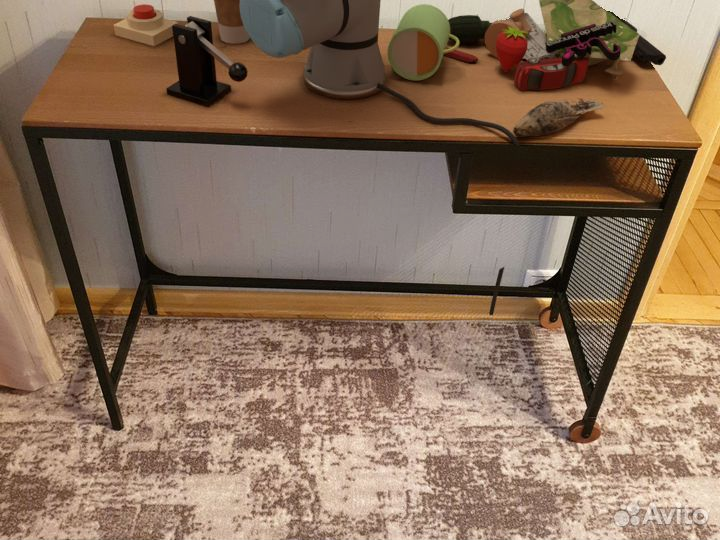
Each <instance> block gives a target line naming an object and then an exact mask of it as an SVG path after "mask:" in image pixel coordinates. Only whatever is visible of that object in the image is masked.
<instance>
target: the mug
mask: <svg viewBox="0 0 720 540" xmlns="http://www.w3.org/2000/svg"><path fill="white" fill-rule="evenodd" d="M448 20H449V19H448V17H447V16H446V14H445V13H444V12H443V10H441V9H439V8H438V7H436V6H434V5H432V4H425V3H424V4H418V5H414V6H412V7H410V8H409V9H407V11H406V12H405V13H404V14H403V16H402V17H401V19H400V21H399V23H398V25H397V27H396V29H395V31H394V33H393V35H392V36H391V39H390V41H389V44H388V47H387V60H388V63H389V65H390V67H391V69H392V70H393V71H394V72H395V73H396V74H398V76H400V77H402V78H404V79H405V80H408V81H422V80H423V81H424V80H426V79H428V78H430V77H432V76H433V75H434V74H435V73H436V72H437V71H438V69H439V68H440V65H441V63H442V59H443V58H444V55H443V54H444V53H448V52H451V51H453V50H457V48H459V46H460V44H461V43H460V42H459V39H458V38H457V37H456V36H454V35H452V34H450V24H449V21H448ZM449 37H450V38H452V39H454V40H455V41H456V42H455V44H454V46H452V47H448V48H449V49H446V50H445V48H446V47H447V46H448V42H449V41H450V40H449Z"/></svg>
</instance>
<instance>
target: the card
mask: <svg viewBox="0 0 720 540" xmlns="http://www.w3.org/2000/svg"><path fill="white" fill-rule="evenodd" d="M538 2H539V8H540V11H541V17H542V19H543V25H544V30H545V35H546V36H547V40H548V42H551V41H552V40H556V39H560V38H561V34H564V33H567V32H570V31H573V30H576V29H580V28H582V27H585V26H589V25H592V24H596V26H599V25H600V26H601V25H602V24H606V23H609V22H611V21H613V22H615V23H616V25H617V26H616V33H614V32H613V31H612V34H607V35H606V36H600V37H598V38H600V39H602V40H603V42H604V43H605V44H606V46H607V47H608V48H609V49H610V50H611V51H613V44H617V45H619V46H620V48H621V51H620V58H619V59H617V60H620V61H624V62H625V61H626V62H631V61H632V58H633V56H634V49H635V46H636V44H637V41H638V38H639V35H640V33H638V31H637V32H635V31H634V30H632V29H631V28H629V27H628V26H627V25H625V24H624V23H623V22H621V21H620V20H619V19H617V18H616V17H615V16H613V15H612V14H611V13H609V12H608V11H606V10H605V9H603V8H602V7H600V6H601V5H599V4H598V3H597V2H596V1H594V0H538ZM590 38H591V37H590ZM585 42H586V41H585ZM581 43H583V42H581ZM573 46H574V45H573ZM567 48H568V47H565V48H564V49H560V50H556V51H558V53H560V54H561V56H563V55H564V54H565V51H566V49H567ZM575 56H577V55H576V54H575ZM584 57H592V58H593V57H594V58H604V59H605V60H609V59H608V58H607V57H606V56H605V55H604V54H603V52H602V51H601V50H600V48H599V47H597V46H593V47H592V51H591V55H589V54H588V53H587V55H586V56H584Z"/></svg>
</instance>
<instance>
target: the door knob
mask: <svg viewBox="0 0 720 540" xmlns="http://www.w3.org/2000/svg"><path fill="white" fill-rule="evenodd" d="M525 13H526V12H525V8H518V9H516V10H515V11H512V12H511V13H510V14H509V17H510V19H512V21H513V22H510V21H506V20H502V19H500V20H499V19H498V20H499V21H497V20H495V21H496V22H495V21H493V22H494V23H493V22H492V23H493V24H492V25H491V26H490V27H489V28H488V29H487V31H486V33H485V39H484V44H485V46H486V47H485V48H486V49H487V51H488V52H489V53H490V54H491V55H492V56H493V57H494V58H496V59H498V60H499V58H498V56H497V53H496V40H497V37H498V35H499V34H500V33H502V32H503V30H502V29H504V30H509V28H508V26H509V27H512V28H514V29H515V27H516V26H517V25H518V24H519V25H518V26H517V27H516V28H518V32H520V31H524V32H528V33H530V32H531V30H532V27H531V26H530V25H529V23H528V22H527V20H526V18H525ZM509 17H508V18H509ZM519 22H520V23H519ZM523 35H524V36H525V37H526V36H528V35H529V34H523Z"/></svg>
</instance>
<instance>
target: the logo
mask: <svg viewBox="0 0 720 540" xmlns="http://www.w3.org/2000/svg"><path fill="white" fill-rule="evenodd" d="M616 26H617V25H616V23H615V22H613V21H611V22H609V23H606V24H602V25H601V26H600V25H599V26H596V24H592V25H589V26H585V27H582V28H580V29H576V30H573V31H570V32H567V33H564V34H561V38H560V39H556V40H552V41H551V42H546V51H547V53H552V52H555V51H556V50H560V49H564V48H565V47H568V48H567V49H566V51H565V54H564V55H561V57H562V65H563V66H569V65H570V64H571V63H572V62H573V61H574V59H575V54H576V55H577V56H579V57H584V56H586V55H587V53H588V54H589V55H591V51H592V47H593V46H597V47H599V48H600V50H601V51H602V52H603V54H604V55H605V56H606V57H607V58H608V59H607V60H610V61H614V60H617V59H619V58H620V51H621V48H620V46H619V45H617V44H613V51H611V50H610V49H609V48H608V47H607V46H606V44H605V43H604V42H603V40H602V39H600V38H598V37H600V36H606V35H607V34H612V31H613V32H614V33H616ZM590 37H591V38H590ZM585 41H586V42H585ZM581 42H583V43H581ZM573 45H574V46H573Z"/></svg>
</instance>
